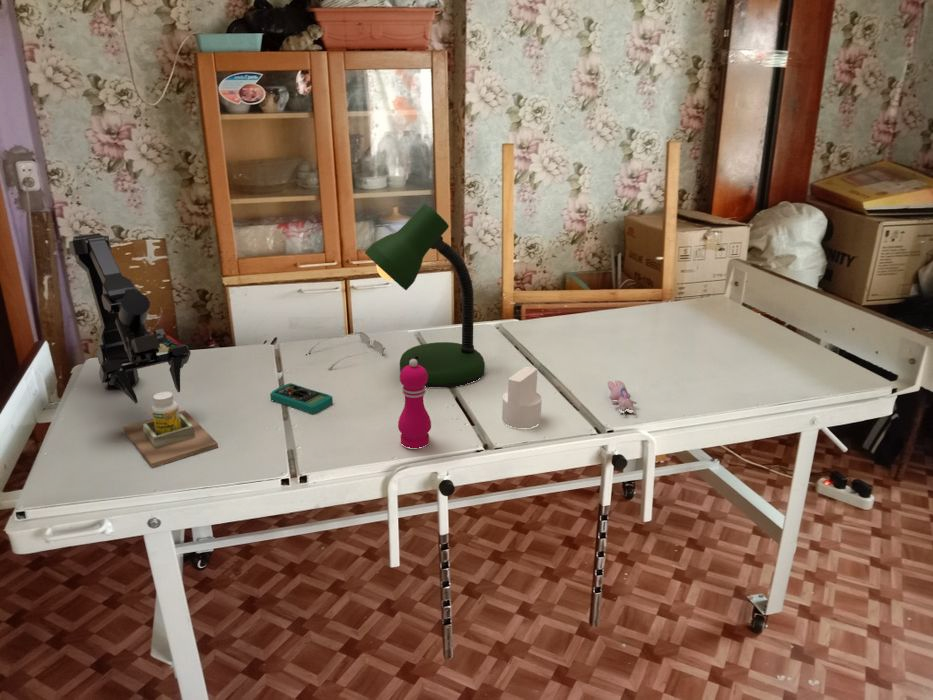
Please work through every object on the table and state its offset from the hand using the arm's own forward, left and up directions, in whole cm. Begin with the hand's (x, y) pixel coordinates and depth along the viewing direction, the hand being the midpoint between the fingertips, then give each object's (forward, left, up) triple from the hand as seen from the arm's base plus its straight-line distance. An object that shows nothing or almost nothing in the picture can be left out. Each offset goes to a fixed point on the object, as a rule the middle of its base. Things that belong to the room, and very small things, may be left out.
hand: (158, 397), depth 166 cm
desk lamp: (+60, +30, -9) cm, 68 cm away
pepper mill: (+56, -8, -9) cm, 58 cm away
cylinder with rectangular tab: (+81, +1, -9) cm, 82 cm away
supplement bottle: (+2, -3, -8) cm, 9 cm away
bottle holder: (+2, -3, -9) cm, 10 cm away
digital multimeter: (+29, +14, -9) cm, 33 cm away
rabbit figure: (+107, +8, -9) cm, 108 cm away
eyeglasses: (+37, +43, -9) cm, 58 cm away
